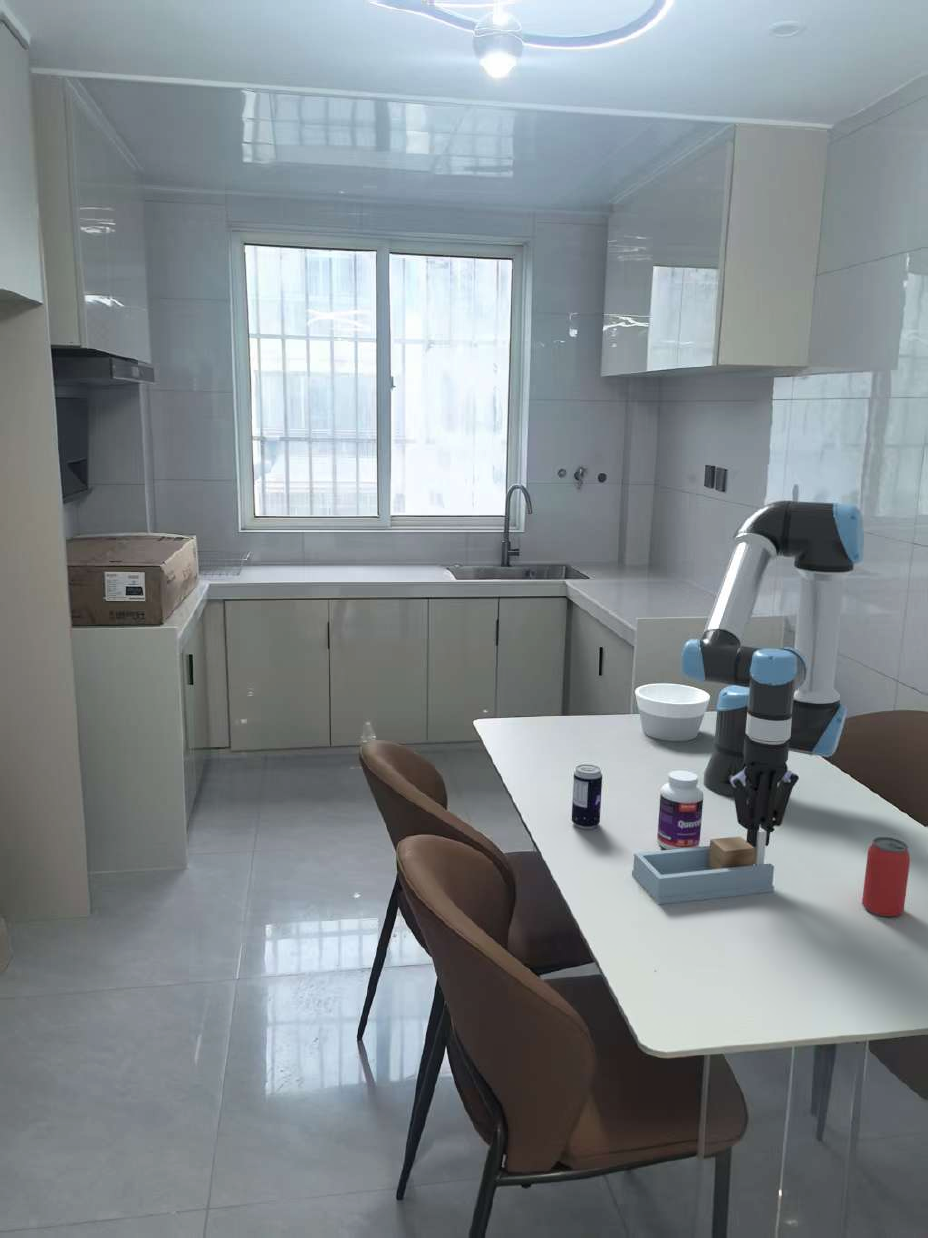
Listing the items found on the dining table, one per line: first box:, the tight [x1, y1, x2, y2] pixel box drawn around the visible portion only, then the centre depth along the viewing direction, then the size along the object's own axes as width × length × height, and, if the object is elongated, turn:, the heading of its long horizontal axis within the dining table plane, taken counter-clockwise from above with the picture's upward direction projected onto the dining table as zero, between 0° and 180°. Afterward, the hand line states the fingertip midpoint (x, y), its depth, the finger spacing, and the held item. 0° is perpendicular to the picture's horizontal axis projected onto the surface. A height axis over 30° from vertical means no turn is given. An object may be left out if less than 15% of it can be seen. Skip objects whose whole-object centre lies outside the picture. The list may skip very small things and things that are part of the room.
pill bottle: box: [656, 770, 704, 850], centre depth 187 cm, size 8×8×14 cm
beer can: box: [861, 836, 911, 918], centre depth 164 cm, size 7×7×12 cm
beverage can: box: [571, 764, 603, 830], centre depth 196 cm, size 6×6×12 cm
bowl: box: [634, 683, 711, 742], centre depth 255 cm, size 19×19×11 cm
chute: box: [631, 845, 775, 905], centre depth 173 cm, size 22×11×4 cm, turn 105°
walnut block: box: [708, 836, 755, 870], centre depth 174 cm, size 6×5×6 cm
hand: (755, 862), depth 175 cm, fingers closed
